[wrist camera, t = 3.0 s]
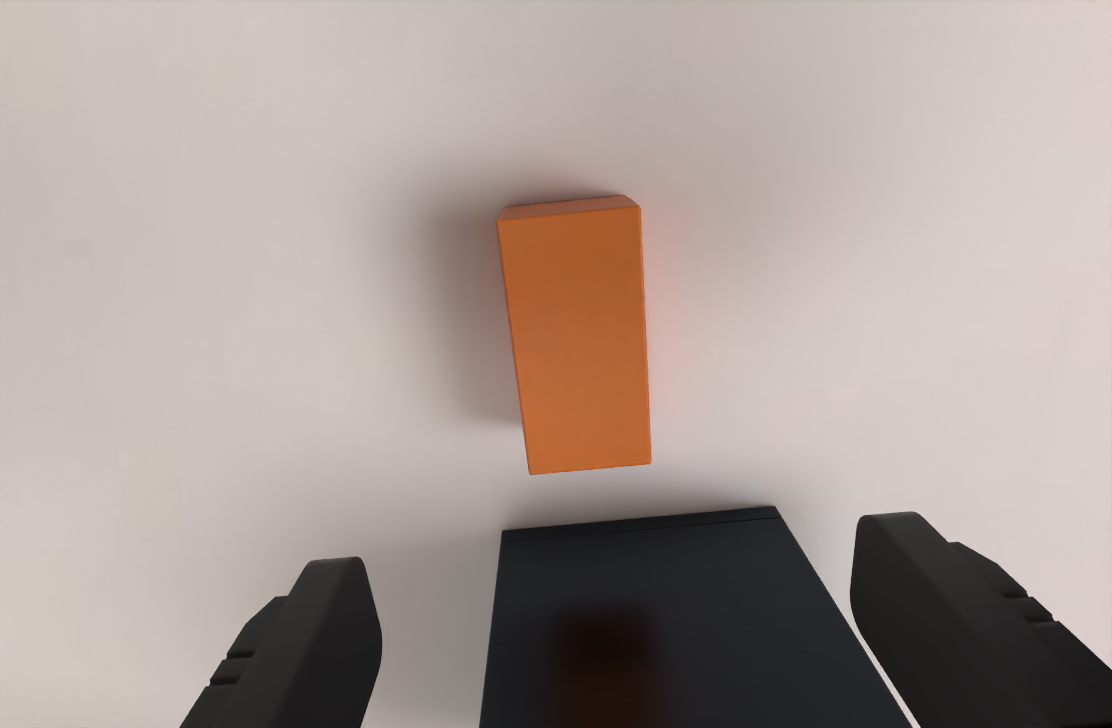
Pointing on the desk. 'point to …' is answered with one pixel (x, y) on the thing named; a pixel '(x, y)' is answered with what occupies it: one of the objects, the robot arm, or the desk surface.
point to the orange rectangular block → (578, 331)
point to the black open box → (673, 630)
